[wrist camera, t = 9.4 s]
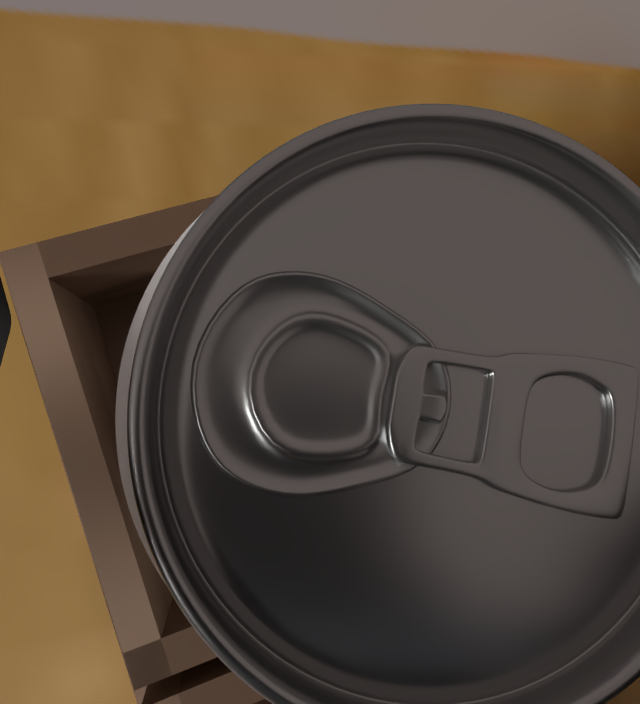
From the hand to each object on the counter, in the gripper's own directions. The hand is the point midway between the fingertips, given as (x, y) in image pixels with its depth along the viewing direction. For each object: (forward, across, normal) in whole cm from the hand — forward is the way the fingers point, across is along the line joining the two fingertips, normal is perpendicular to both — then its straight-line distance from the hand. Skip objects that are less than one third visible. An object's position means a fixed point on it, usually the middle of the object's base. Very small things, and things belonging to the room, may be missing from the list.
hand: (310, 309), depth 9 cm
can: (+5, -1, +7) cm, 8 cm away
